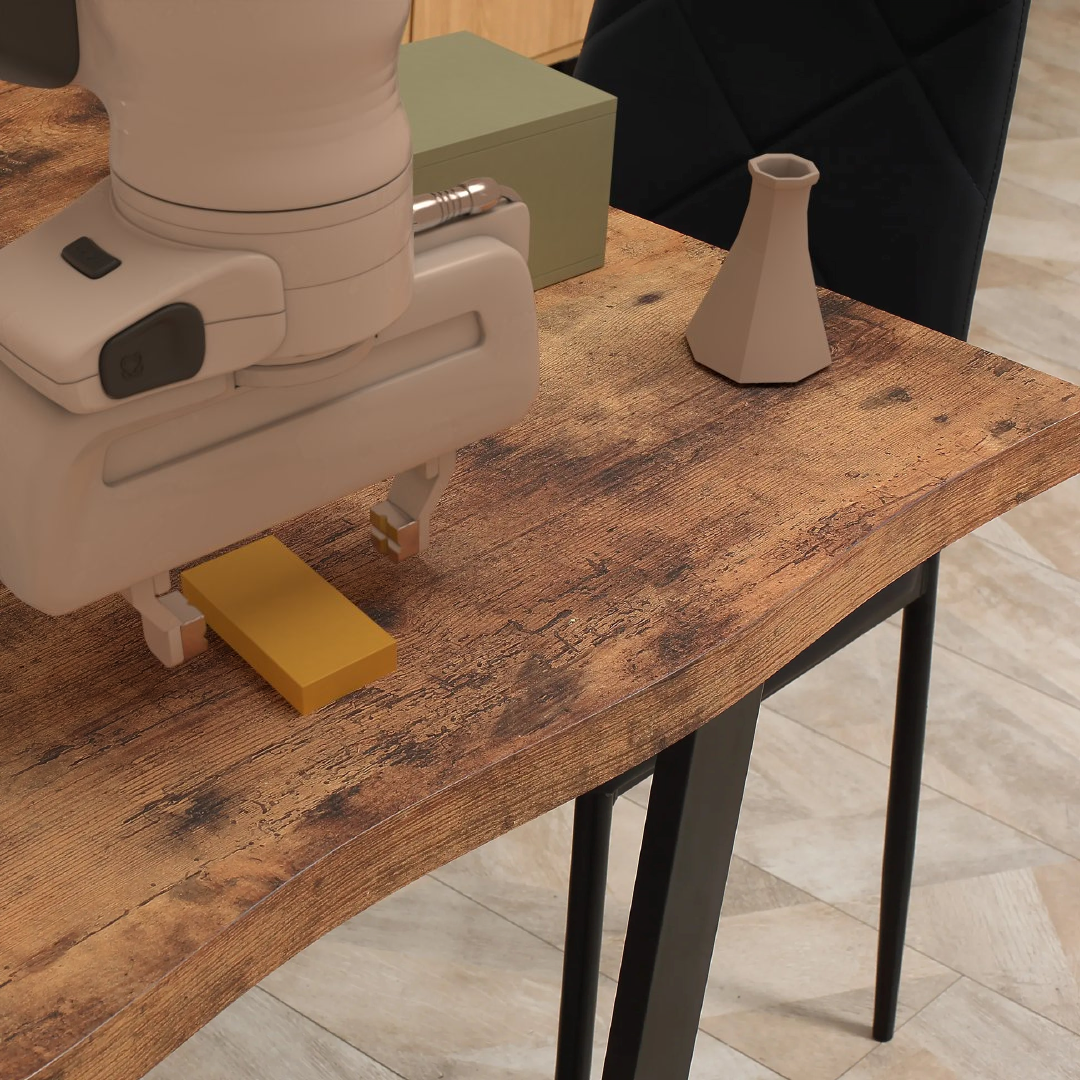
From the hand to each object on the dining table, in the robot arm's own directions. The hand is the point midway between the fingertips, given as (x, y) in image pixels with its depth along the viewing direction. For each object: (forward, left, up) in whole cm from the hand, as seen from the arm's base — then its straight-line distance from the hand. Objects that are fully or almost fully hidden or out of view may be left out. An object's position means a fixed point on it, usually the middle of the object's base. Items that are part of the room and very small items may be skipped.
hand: (294, 598), depth 55 cm
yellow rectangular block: (0, 0, -3) cm, 3 cm away
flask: (-6, +32, -4) cm, 33 cm away
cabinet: (-24, +25, -3) cm, 35 cm away
